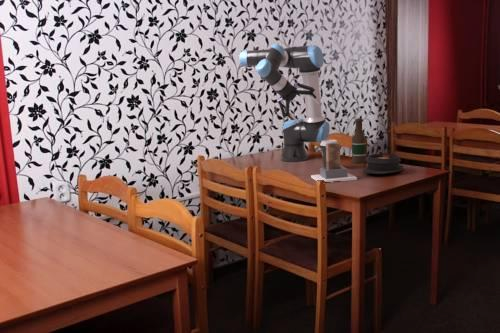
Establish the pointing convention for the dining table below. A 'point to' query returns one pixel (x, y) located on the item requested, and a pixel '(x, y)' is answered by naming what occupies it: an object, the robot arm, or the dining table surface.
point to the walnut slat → (332, 156)
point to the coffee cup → (323, 146)
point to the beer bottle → (358, 144)
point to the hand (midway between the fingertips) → (307, 112)
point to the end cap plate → (334, 175)
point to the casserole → (383, 164)
